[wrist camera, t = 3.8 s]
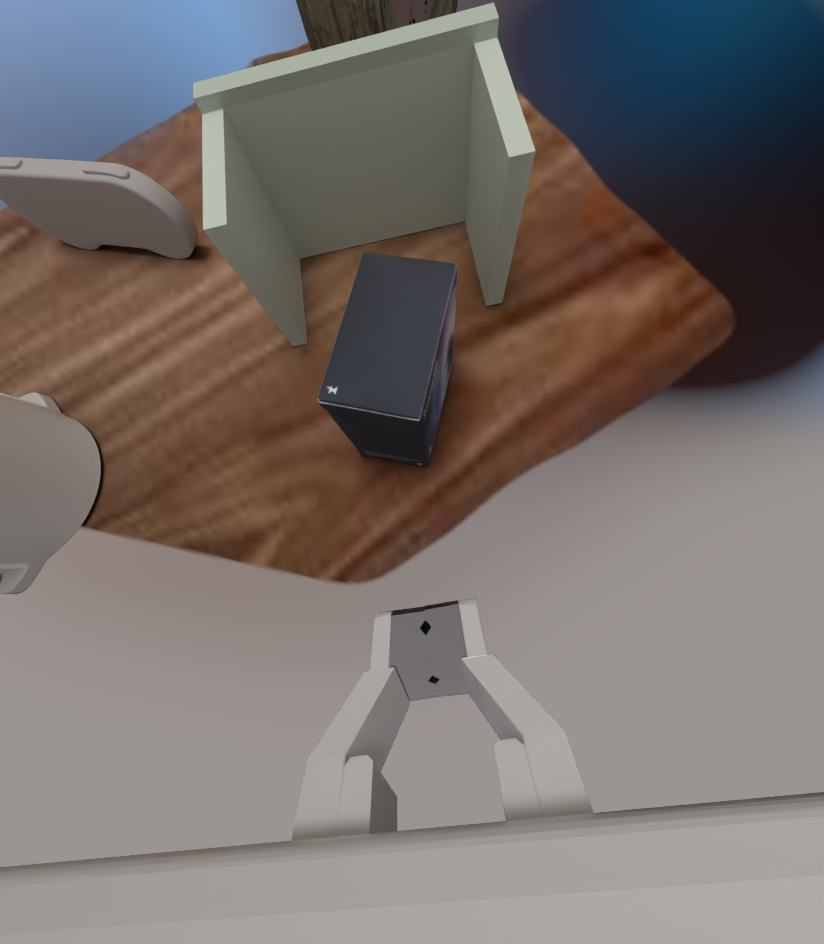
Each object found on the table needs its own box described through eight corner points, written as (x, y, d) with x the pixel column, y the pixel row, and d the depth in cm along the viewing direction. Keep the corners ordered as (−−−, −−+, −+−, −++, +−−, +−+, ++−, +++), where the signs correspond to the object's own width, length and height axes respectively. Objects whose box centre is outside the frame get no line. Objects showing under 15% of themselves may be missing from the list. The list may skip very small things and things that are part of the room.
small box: (432, 470, 28) (423, 424, 18) (358, 455, 29) (309, 404, 19) (457, 357, 30) (462, 258, 20) (387, 347, 31) (357, 248, 21)
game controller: (216, 245, 36) (149, 157, 28) (209, 263, 35) (139, 179, 27) (68, 231, 39) (-31, 148, 31) (60, 248, 38) (-43, 167, 30)
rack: (292, 346, 32) (193, 217, 19) (284, 250, 35) (193, 83, 22) (502, 302, 31) (539, 134, 18) (476, 206, 33) (493, 2, 21)
